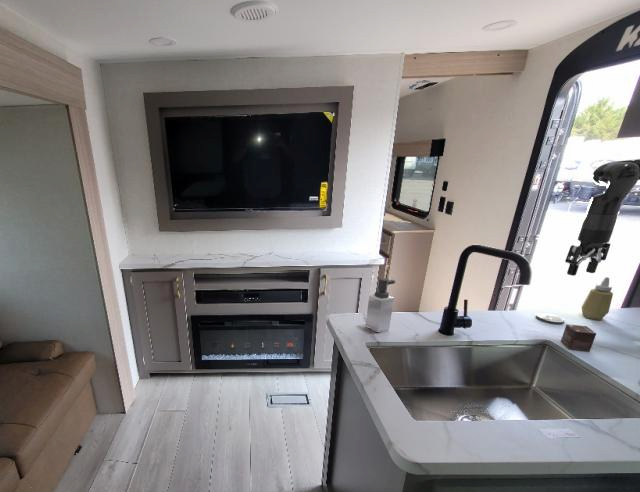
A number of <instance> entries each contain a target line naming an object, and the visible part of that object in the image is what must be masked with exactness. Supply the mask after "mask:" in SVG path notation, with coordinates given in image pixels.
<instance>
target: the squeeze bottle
mask: <svg viewBox="0 0 640 492" xmlns="http://www.w3.org/2000/svg"><path fill="white" fill-rule="evenodd" d="M612 289H613V287H612V286H611V285H610V277H607V276H605V277H604V278H603V279H602V281H601V282H600V283H596V284H595V286H594V288H592V289H590V290H589V292H588V294H587V295H586V298H585V300H584V301H583V303H582V305H581V314H582V316H583V317H584V318H587V319H591V320H599V321H600V320H603V318H605V317H606V316H607V315H608V314H609V312H610V308H611V305H612V304H611V303H612V300H613V296H614V293H613V292H612Z"/></svg>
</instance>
